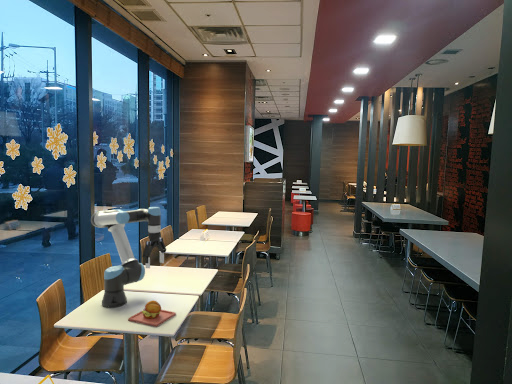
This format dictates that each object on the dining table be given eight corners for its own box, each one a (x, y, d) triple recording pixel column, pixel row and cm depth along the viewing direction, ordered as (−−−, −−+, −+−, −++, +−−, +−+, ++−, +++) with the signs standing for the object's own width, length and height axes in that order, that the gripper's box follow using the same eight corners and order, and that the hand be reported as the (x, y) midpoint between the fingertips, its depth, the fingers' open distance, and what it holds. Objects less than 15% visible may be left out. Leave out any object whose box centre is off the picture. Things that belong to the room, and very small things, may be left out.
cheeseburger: (152, 310, 224) (155, 295, 222) (163, 319, 218) (166, 304, 216) (138, 315, 216) (140, 300, 214) (149, 324, 210) (151, 309, 208)
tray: (128, 320, 211) (128, 318, 211) (149, 309, 228) (148, 307, 228) (156, 326, 204) (156, 324, 203) (175, 314, 220) (175, 312, 220)
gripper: (145, 235, 216) (146, 271, 217) (171, 229, 239) (172, 261, 240) (135, 234, 219) (136, 269, 220) (162, 228, 242) (162, 260, 243)
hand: (155, 265), depth 230 cm, fingers open, 13 cm apart
